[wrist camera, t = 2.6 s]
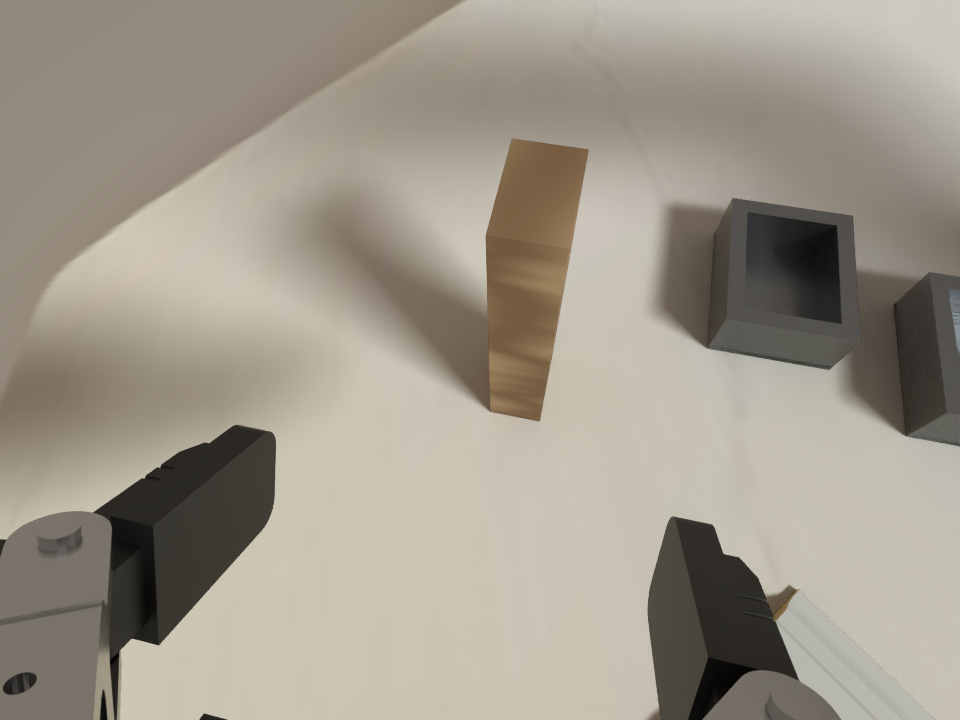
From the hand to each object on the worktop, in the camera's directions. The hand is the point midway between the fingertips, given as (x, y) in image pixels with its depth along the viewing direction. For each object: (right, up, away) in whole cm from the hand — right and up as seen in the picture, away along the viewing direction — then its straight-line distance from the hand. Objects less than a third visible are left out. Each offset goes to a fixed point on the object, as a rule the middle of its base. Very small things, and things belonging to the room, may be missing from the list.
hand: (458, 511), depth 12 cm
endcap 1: (+16, +6, +21) cm, 27 cm away
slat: (+3, +2, +19) cm, 19 cm away
